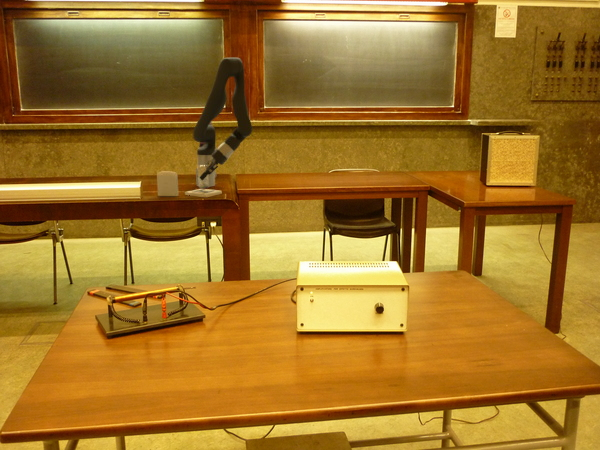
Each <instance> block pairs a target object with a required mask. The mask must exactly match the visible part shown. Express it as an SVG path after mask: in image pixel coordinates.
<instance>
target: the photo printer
mask: <svg viewBox="0 0 600 450" xmlns="http://www.w3.org/2000/svg"><path fill="white" fill-rule="evenodd" d="M178 178H179V177H178V173H177V172H175V171H171V170H165V171H164V170H163V171H159V172H157V173H156V185H157V187H156V188H157V196H158V197H178V196H179V184H178V180H179V179H178Z"/></svg>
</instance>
